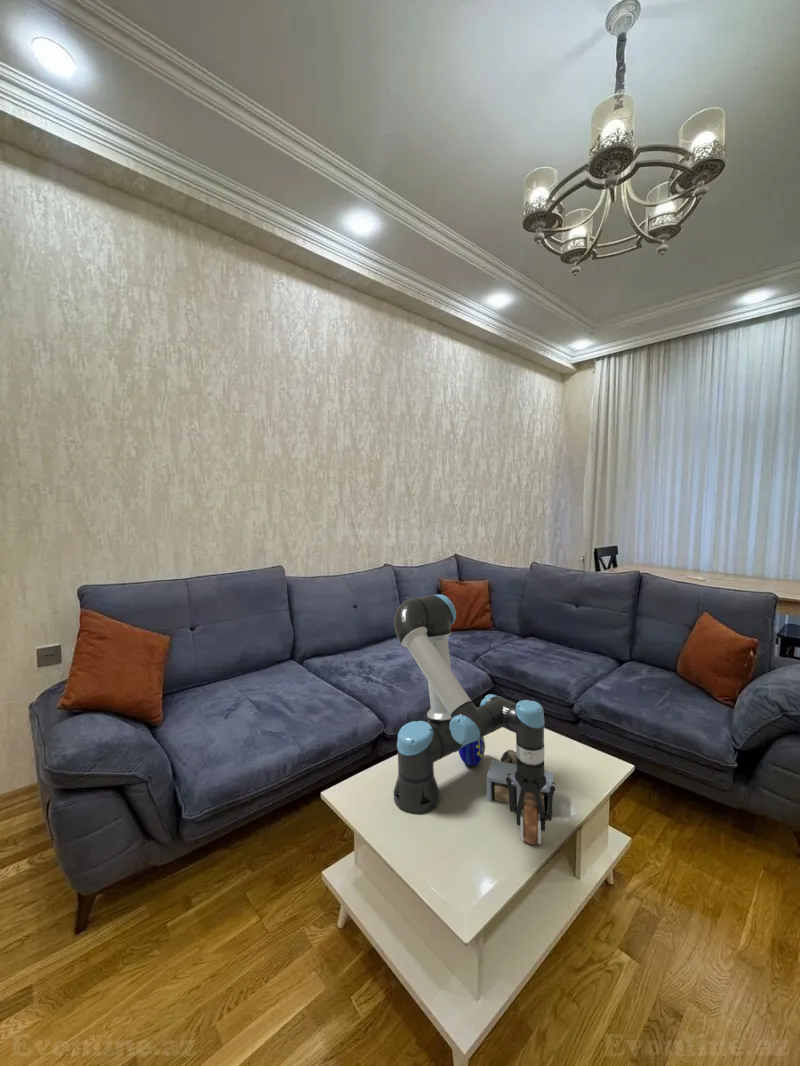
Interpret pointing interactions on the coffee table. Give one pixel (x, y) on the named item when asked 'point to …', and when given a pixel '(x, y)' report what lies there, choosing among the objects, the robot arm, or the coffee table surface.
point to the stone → (509, 757)
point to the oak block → (502, 792)
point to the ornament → (473, 752)
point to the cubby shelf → (499, 775)
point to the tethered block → (531, 817)
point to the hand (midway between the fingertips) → (530, 837)
